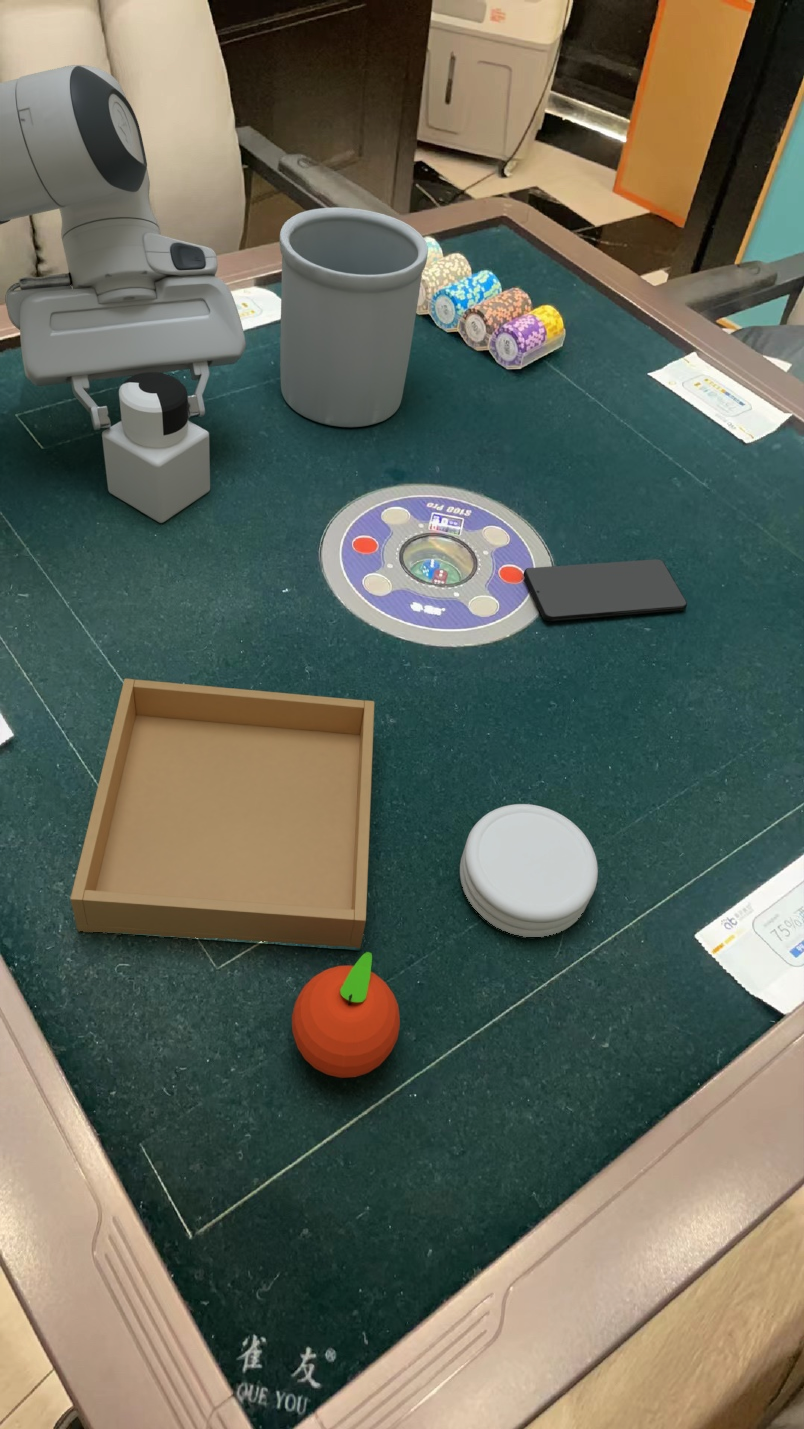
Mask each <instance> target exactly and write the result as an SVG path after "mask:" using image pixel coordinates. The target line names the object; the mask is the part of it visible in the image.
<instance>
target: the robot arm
mask: <svg viewBox="0 0 804 1429" xmlns="http://www.w3.org/2000/svg"><path fill="white" fill-rule="evenodd" d="M141 132H142V131H141V128H140V124H139V121H138V119H137V116H136V113H135V111H134V109H133V107H132V105H131V104H130V102H129V100H128V98H127V97H126V94H125V92H124V90H123V88H122V86H121V84H120V83H119V81H118V80H117V79H116V78H115V77H114V76H113V75H111V74H110V73H108V72H107V71H105V70H103V69H100V68H99V67H94V66H90V65H85V64H83V65H82V64H71V65H66V66H65V65H64V66H61V67H56V68H53V69H48V70H43V71H38V72H34V73H31V74H30V73H29V74H27V75H22V76H20V77H19V78H15V79H10V80H6V81H3V82H0V225H3V224H7V223H8V222H9V223H10V222H11V220H15V219H19V218H24V217H25V218H26V217H29V216H33V215H37V214H38V215H39V214H41V213H42V214H43V213H47V212H51V211H55V210H59V212H60V217H61V228H60V229H61V230H60V235H61V236H60V237H61V242H62V247H63V251H64V256H65V260H66V265H67V270H68V272H67V273H57V274H48V275H45V276H44V275H43V276H37V277H34V276H23V277H20V278H18V282H15V283H13V284H12V285H10V286H9V287H8V288H7V290H6V292H5V297H4V302H5V308H6V311H7V315H8V319H9V321H10V323H11V324H12V325H13V326H14V327H15V329H17V330H19V336H20V338H19V339H20V340H19V341H20V348H21V356H22V364H23V369H24V376H25V377H26V379H27V380H28V381H29V382H30V383H31V384H33V385H34V386H36V387H45V386H55V385H62V384H70V385H71V390H72V393H73V396H74V397H75V398H76V399H77V401H78V402H79V403H80V404H81V405H82V407H83V408H84V409H85V410H86V411H87V412H88V413H89V416H90V419H91V423H92V428H93V430H94V431H100V430H106V429H108V428H110V427H112V423H111V418H110V417H109V408H108V406H107V405H102V406H98V404H97V403H96V402H95V401H94V399H93V398H92V397H91V396H90V395H89V391H90V382H91V381H97V380H106V379H107V380H108V379H115V378H123V377H124V378H125V377H132V376H134V375H137V374H140V373H147V372H157V373H168V372H176V371H185V370H189V374H190V378H191V380H192V381H197V383H196V385H195V388H194V391H193V394H191V395H187V399H188V419H191V418H200V417H204V416H205V415H206V408H205V403H204V398H203V395H204V392H205V390H206V386H207V383H208V380H209V377H210V369H209V368H211V367H220V366H228V365H229V366H230V365H234V364H236V363H238V361H239V360H240V359H241V358H242V356H243V355H244V353H245V351H246V347H247V342H246V336H245V332H244V328H243V323H242V321H241V316H240V313H239V310H238V308H237V304H236V301H235V299H234V296H233V293H232V291H231V290H230V288H229V286H228V285H227V283H226V282H225V281H224V280H222V279H221V278H220V277H218V276H216V275H217V272H218V265H219V264H218V257H217V253H216V252H215V251H214V249H213V248H211V247H208V246H205V245H201V244H196V243H192V242H188V241H184V240H180V239H177V238H173V237H169V236H167V235H162V234H161V229H160V224H159V222H158V219H157V217H156V216H155V213H154V211H153V209H152V206H151V202H150V189H151V181H150V180H151V179H150V176H149V171H148V162H147V161H148V160H147V156H146V151H145V145H144V141H143V137H142V133H141ZM89 381H90V382H89Z"/></svg>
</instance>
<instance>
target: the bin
mask: <svg viewBox="0 0 804 1429" xmlns="http://www.w3.org/2000/svg"><path fill="white" fill-rule="evenodd" d="M374 725H375V701H374V700H363V699H355V698H354V699H353V698H342V697H330V696H321V695H311V694H309V695H308V694H298V693H287V692H276V691H265V690H254V689H243V688H232V687H224V686H223V687H221V686H210V685H202V684H201V685H198V684H189V683H180V682H179V683H177V682H167V681H156V680H146V679H145V680H144V679H134V678H125V677H124V679H123V682H122V687H121V692H120V695H119V699H118V703H117V708H116V711H115V715H114V720H113V723H112V727H111V732H110V736H109V738H108V739H109V740H108V743H107V748H106V751H105V756H104V760H103V764H102V769H101V772H100V777H99V781H98V785H97V788H96V792H95V796H94V801H93V805H92V808H91V812H90V816H89V817H90V818H89V822H88V825H87V829H86V833H85V837H84V841H83V844H82V849H81V854H80V857H79V861H78V865H77V869H76V874H75V878H74V882H73V886H72V890H71V894H70V899H69V900H70V904H71V907H72V913H73V916H74V919H75V920H74V921H75V925H76V929H77V932H78V933H79V932H80V931H83V932H82V933H93V932H103V933H102V934H106V933H105V932H108V933H110V932H111V933H130V934H148V935H161V936H175V937H190V938H195V937H196V938H219V939H225V938H227V939H237V940H247V941H251V940H252V941H262V942H264V941H268V942H281V943H295V944H310V945H328V946H346V947H356V948H360V949H361V947H362V942H363V937H364V931H365V928H366V923H367V904H368V902H367V900H368V881H369V880H368V879H369V878H368V877H369V855H370V854H369V853H370V826H371V802H372V801H371V800H372V778H373V776H372V775H373V752H374V750H373V748H374Z"/></svg>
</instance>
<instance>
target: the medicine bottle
mask: <svg viewBox="0 0 804 1429" xmlns="http://www.w3.org/2000/svg"><path fill="white" fill-rule="evenodd" d="M187 396H188V390H187V387H186V386H185V385H184V384H183V383H182V382H181V381H180V380H179V379H178V378H177V377H174V376H173V375H170V374H167V373H164V372H160V373H157V372H147V373H140V374H137V375H134V376H129V377H128V378H126V379H125V380H124V381H123V383H122V384H121V385H120V387H119V389H118V398H119V399H118V400H119V408H120V419H121V420H120V421H118V422H116V423H115V424H113V425H111V427H110V428H108V429H104V430H103V431H102V433H101V437H102V447H103V456H104V457H103V458H104V465H105V466H104V467H105V474H106V484H107V491H108V492H109V494H111V495H113V496H114V497H116V498H118V499H119V500H121V501H123V502H124V503H126V504H127V505H129V506H131V507H132V508H134V509H136V510H137V511H139V512H141V513H143V515H146V516H148V517H149V518H151V519H153V520H154V521H156V522H157V523H159V524H163V523H165V522H167V521H168V520H169V519H171V518H172V517H174V516H175V515H177V514H178V513H180V512H181V511H182V510H184V509H186V508H187V507H188V506H190V505H191V504H193V503H194V502H196V501H197V500H199V499H200V498H201V497H203V496H205V495H206V494H207V493H209V492H210V491H211V469H210V468H211V466H210V464H211V463H210V462H211V461H210V432H209V431H208V430H206V429H204V428H202V427H201V426H199V425H197V424H195V423H194V422H192V421H190V420H189V418H188V399H187Z"/></svg>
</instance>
